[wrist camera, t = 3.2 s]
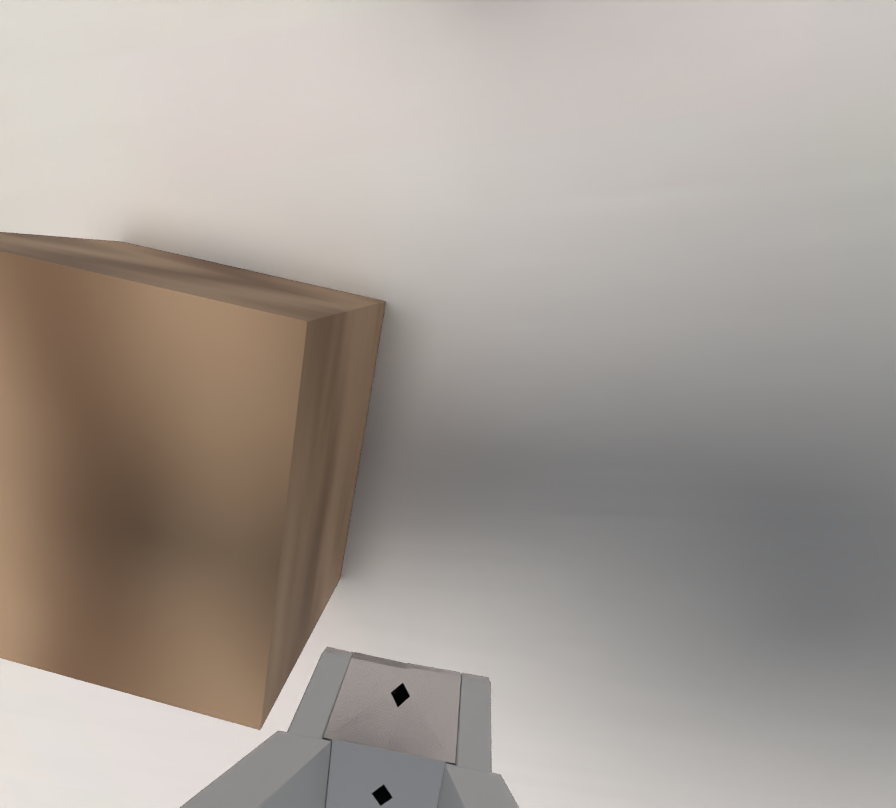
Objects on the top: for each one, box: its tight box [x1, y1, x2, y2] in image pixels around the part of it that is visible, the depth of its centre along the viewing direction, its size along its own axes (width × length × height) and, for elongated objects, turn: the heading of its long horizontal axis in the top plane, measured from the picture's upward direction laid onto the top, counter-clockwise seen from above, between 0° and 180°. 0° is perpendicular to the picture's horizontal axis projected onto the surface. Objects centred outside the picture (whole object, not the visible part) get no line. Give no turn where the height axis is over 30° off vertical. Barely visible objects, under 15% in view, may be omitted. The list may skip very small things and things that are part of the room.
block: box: [0, 232, 386, 730], centre depth 15 cm, size 10×12×7 cm
